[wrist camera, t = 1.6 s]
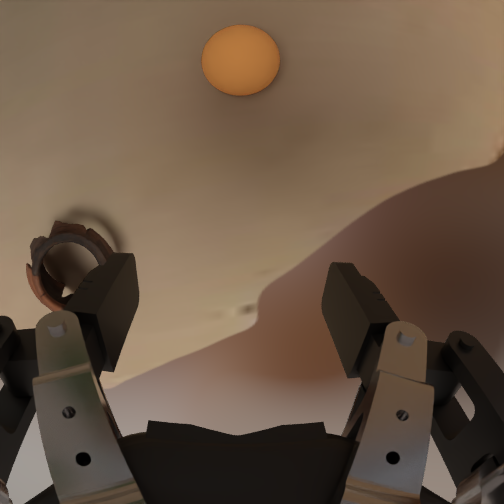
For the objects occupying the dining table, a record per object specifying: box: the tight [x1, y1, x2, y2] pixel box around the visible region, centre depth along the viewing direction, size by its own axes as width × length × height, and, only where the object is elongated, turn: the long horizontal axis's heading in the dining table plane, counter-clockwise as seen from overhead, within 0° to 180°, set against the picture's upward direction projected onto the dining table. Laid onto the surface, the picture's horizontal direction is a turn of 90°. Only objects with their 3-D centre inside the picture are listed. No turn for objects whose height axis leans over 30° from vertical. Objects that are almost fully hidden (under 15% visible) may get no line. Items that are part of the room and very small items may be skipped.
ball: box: [201, 25, 280, 96], centre depth 18 cm, size 6×6×6 cm
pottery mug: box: [26, 221, 114, 312], centre depth 26 cm, size 12×9×8 cm
